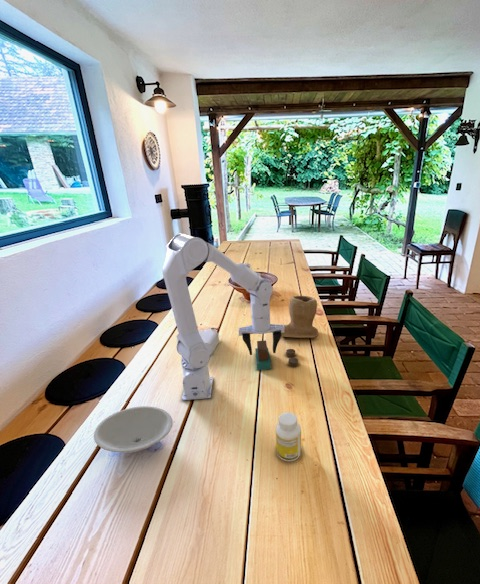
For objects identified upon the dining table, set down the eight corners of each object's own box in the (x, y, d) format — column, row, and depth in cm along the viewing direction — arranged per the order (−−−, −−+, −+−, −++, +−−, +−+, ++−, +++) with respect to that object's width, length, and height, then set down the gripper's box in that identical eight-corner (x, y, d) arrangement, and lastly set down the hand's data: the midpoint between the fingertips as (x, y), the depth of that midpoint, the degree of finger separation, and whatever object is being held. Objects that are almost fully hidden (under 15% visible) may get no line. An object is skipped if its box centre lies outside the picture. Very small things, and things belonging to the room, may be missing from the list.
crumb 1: (296, 357, 109) (296, 352, 108) (286, 358, 109) (286, 353, 108) (294, 352, 112) (294, 348, 111) (285, 353, 112) (285, 349, 111)
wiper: (270, 369, 103) (270, 352, 100) (257, 370, 103) (256, 353, 100) (268, 353, 112) (267, 338, 109) (255, 354, 112) (254, 339, 109)
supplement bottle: (286, 439, 75) (285, 406, 71) (305, 450, 72) (306, 416, 68) (271, 454, 72) (270, 420, 68) (291, 466, 69) (291, 431, 64)
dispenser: (223, 335, 125) (212, 355, 112) (201, 334, 127) (187, 353, 113) (222, 324, 123) (210, 343, 110) (199, 323, 125) (185, 342, 111)
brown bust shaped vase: (318, 327, 129) (319, 292, 122) (317, 342, 118) (319, 304, 112) (280, 326, 131) (279, 291, 125) (276, 340, 120) (275, 303, 114)
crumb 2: (298, 366, 104) (298, 362, 103) (289, 367, 103) (288, 363, 103) (297, 361, 106) (297, 357, 106) (287, 362, 106) (287, 357, 106)
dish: (85, 466, 71) (78, 449, 69) (118, 420, 84) (113, 405, 82) (162, 470, 69) (158, 453, 67) (184, 422, 82) (181, 407, 80)
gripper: (282, 308, 104) (282, 345, 110) (237, 311, 103) (240, 348, 109) (285, 317, 98) (285, 355, 103) (237, 320, 97) (240, 359, 103)
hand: (262, 352), depth 106 cm, fingers open, 7 cm apart
